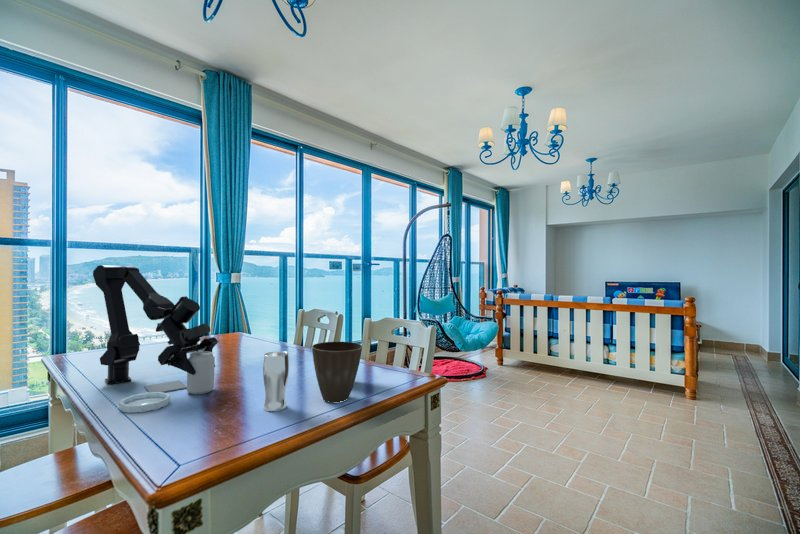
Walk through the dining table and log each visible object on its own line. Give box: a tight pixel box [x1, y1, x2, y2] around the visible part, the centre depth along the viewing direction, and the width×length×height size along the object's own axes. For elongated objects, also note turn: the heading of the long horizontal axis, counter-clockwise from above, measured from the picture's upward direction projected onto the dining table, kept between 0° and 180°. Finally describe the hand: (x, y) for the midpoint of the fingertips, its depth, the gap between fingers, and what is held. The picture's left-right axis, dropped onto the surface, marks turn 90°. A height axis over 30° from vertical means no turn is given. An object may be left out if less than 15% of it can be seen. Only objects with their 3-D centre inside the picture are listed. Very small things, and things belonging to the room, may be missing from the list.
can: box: [186, 351, 216, 396], centre depth 118 cm, size 8×8×12 cm
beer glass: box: [262, 351, 290, 413], centre depth 105 cm, size 7×7×15 cm
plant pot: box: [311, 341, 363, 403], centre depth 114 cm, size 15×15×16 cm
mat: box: [143, 380, 187, 393], centre depth 121 cm, size 10×10×1 cm
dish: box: [118, 392, 171, 414], centre depth 105 cm, size 11×11×2 cm
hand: (204, 370), depth 117 cm, fingers closed on can, 7 cm apart
